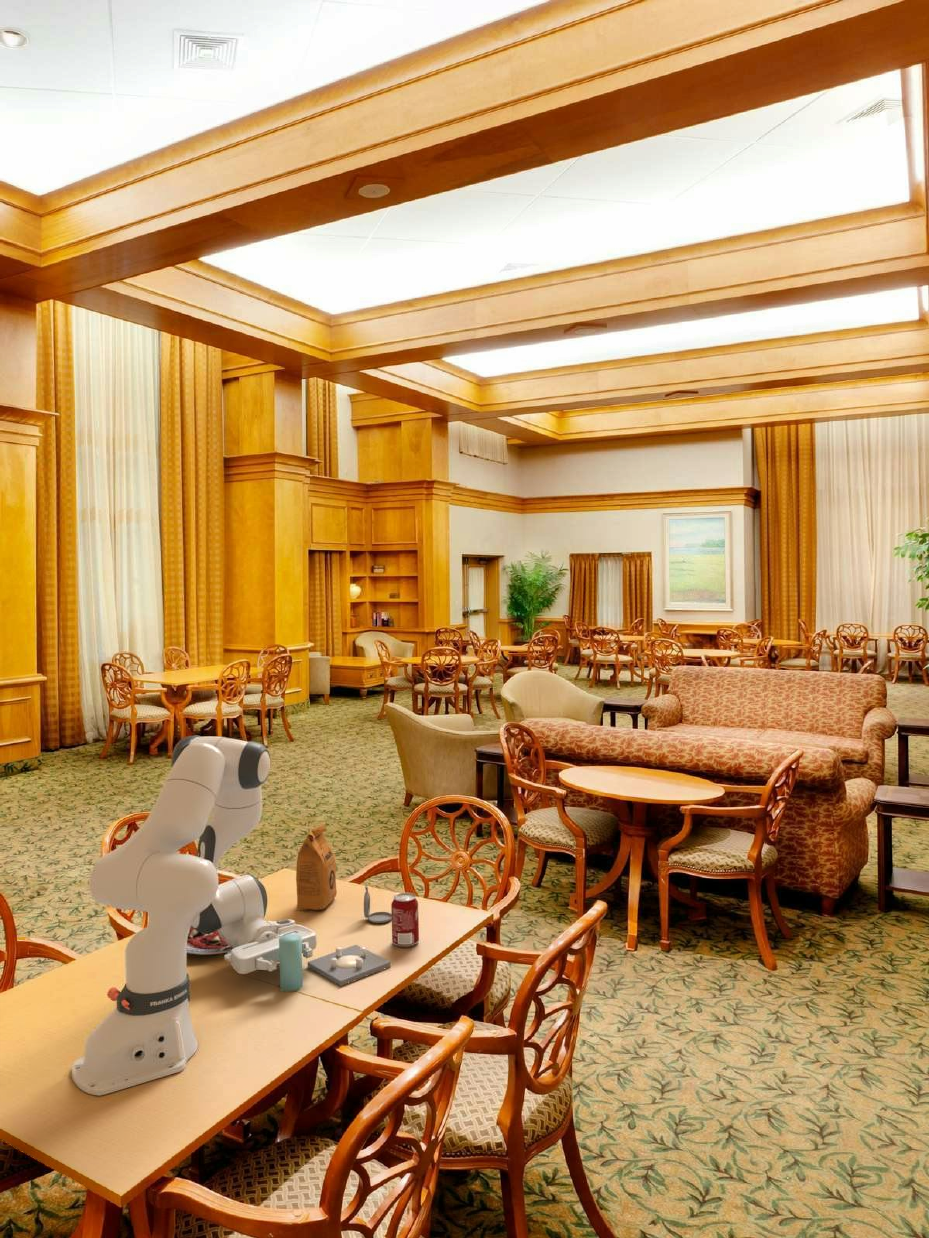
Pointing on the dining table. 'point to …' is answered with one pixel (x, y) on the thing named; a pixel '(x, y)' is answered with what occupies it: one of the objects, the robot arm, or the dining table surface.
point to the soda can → (405, 920)
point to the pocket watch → (377, 916)
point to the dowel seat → (348, 964)
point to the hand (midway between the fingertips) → (292, 960)
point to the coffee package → (315, 872)
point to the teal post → (290, 962)
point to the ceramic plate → (206, 943)
